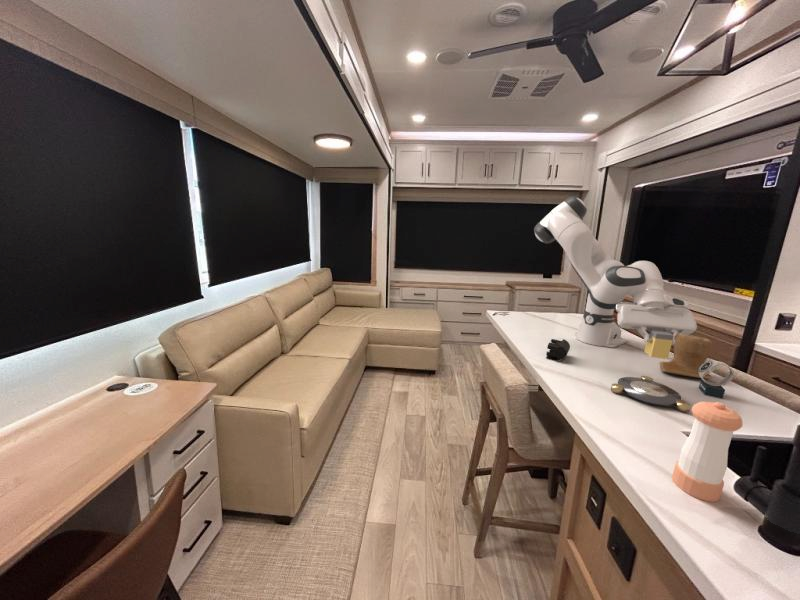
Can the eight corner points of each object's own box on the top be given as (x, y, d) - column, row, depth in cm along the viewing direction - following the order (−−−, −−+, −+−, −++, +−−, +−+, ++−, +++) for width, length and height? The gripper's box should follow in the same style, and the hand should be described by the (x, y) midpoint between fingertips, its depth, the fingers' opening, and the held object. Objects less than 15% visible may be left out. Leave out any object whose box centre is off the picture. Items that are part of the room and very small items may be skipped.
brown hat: (698, 370, 119) (709, 333, 116) (715, 384, 109) (727, 344, 105) (650, 363, 125) (659, 327, 121) (662, 375, 114) (671, 337, 111)
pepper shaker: (681, 494, 62) (706, 408, 57) (665, 469, 69) (687, 390, 64) (728, 507, 59) (758, 418, 55) (707, 479, 66) (732, 398, 62)
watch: (691, 386, 107) (699, 356, 104) (722, 392, 103) (732, 361, 101) (696, 393, 102) (705, 362, 99) (730, 400, 98) (740, 368, 96)
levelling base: (637, 378, 111) (639, 372, 110) (705, 406, 94) (707, 399, 94) (602, 388, 103) (604, 382, 103) (669, 420, 86) (671, 413, 86)
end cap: (564, 363, 121) (567, 347, 120) (545, 359, 125) (547, 343, 124) (568, 356, 129) (571, 340, 128) (550, 351, 133) (552, 336, 132)
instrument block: (644, 351, 99) (649, 329, 98) (660, 353, 98) (665, 330, 96) (650, 356, 95) (656, 333, 93) (667, 358, 94) (673, 335, 92)
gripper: (619, 296, 102) (625, 333, 95) (693, 302, 97) (706, 342, 90) (611, 306, 107) (616, 342, 100) (681, 312, 102) (692, 351, 95)
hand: (659, 342), depth 95 cm, fingers closed on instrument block, 4 cm apart
